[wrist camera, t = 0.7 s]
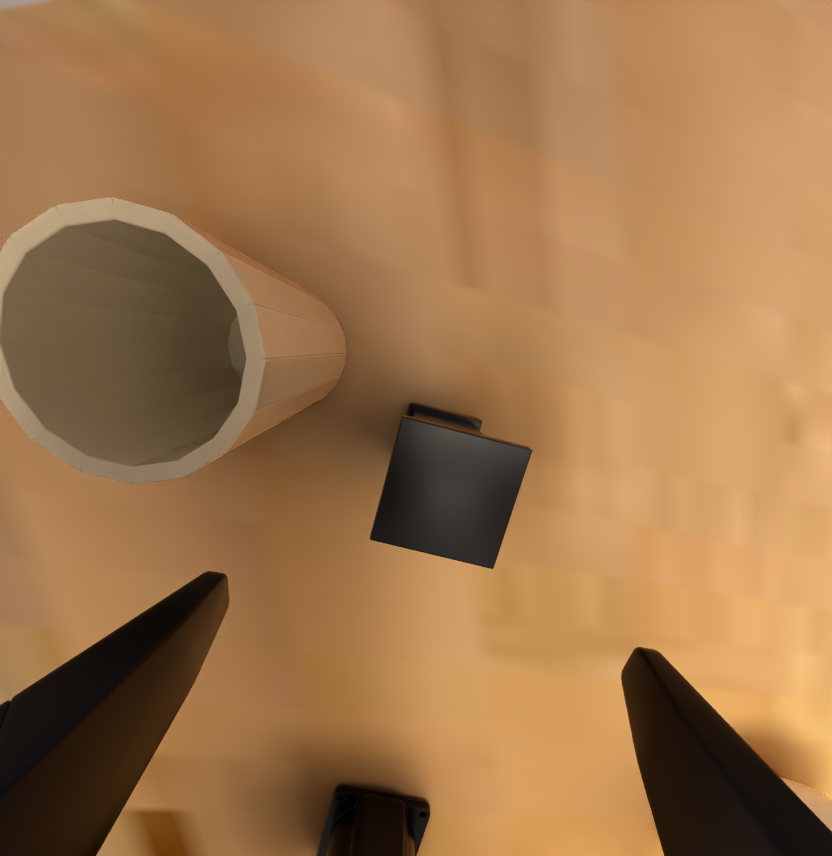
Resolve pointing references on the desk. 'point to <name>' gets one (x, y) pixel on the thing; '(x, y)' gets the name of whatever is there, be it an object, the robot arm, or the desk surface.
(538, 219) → the desk surface
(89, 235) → the pen pot
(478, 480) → the leg piece
